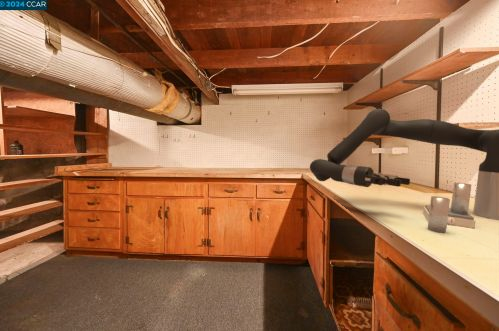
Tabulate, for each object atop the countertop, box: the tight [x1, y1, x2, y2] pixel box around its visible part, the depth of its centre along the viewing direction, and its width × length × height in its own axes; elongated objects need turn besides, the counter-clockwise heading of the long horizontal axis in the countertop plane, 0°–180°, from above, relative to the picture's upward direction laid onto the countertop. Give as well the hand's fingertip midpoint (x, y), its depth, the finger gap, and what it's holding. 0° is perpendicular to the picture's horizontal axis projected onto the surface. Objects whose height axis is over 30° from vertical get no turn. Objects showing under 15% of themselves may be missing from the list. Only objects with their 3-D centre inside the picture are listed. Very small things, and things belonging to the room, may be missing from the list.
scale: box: [422, 204, 477, 229], centre depth 83 cm, size 12×12×3 cm
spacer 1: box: [427, 195, 451, 234], centre depth 71 cm, size 4×4×10 cm
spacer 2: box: [450, 182, 472, 215], centre depth 80 cm, size 4×4×10 cm
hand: (405, 182), depth 79 cm, fingers open, 8 cm apart
